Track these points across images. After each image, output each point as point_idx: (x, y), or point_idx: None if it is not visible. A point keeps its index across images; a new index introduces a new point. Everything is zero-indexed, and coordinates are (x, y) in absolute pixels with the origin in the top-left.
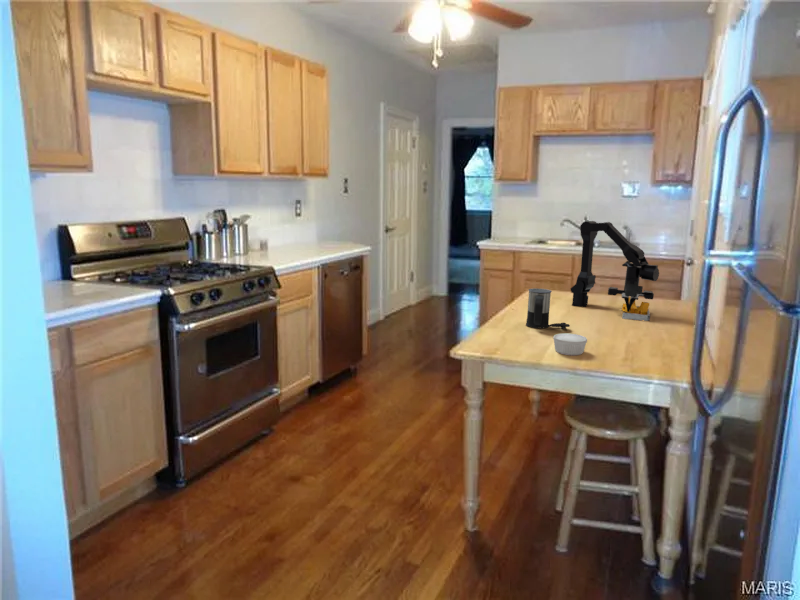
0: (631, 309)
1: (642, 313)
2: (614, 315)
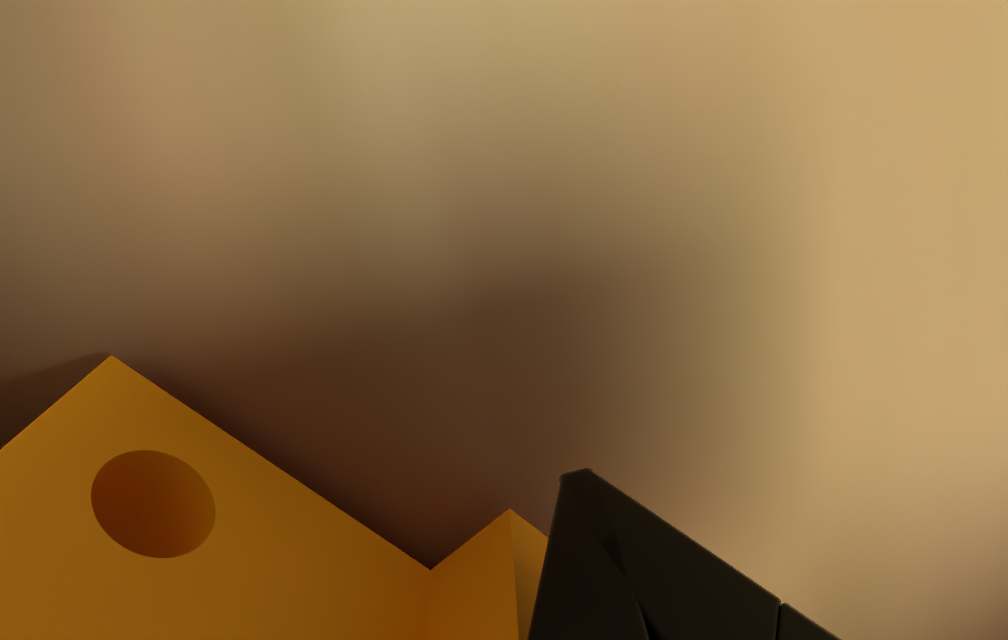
0: (503, 628)
1: (13, 448)
2: (884, 118)
